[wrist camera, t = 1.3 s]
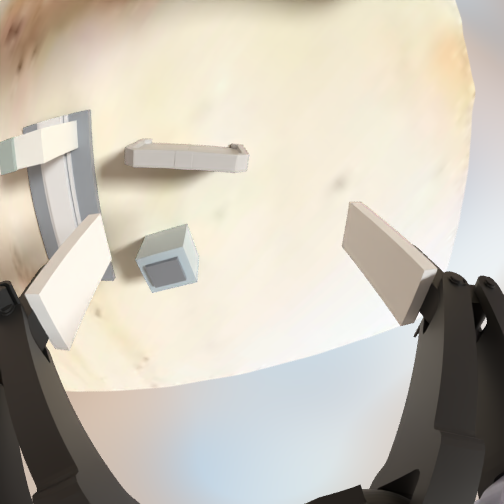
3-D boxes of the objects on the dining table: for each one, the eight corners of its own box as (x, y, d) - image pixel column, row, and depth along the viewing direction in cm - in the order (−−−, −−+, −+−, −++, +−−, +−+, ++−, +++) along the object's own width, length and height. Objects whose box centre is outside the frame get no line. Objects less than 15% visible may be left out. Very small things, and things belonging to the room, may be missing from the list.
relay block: (145, 235, 34) (133, 262, 28) (187, 223, 34) (182, 249, 28) (159, 266, 37) (151, 295, 31) (199, 255, 37) (197, 285, 31)
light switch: (141, 138, 28) (120, 149, 21) (243, 144, 30) (251, 156, 23) (141, 152, 29) (120, 167, 22) (241, 158, 31) (248, 174, 24)
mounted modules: (31, 131, 23) (-9, 145, 16) (76, 120, 24) (38, 129, 17) (62, 275, 34) (39, 311, 27) (102, 275, 35) (83, 314, 28)
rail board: (26, 127, 23) (19, 128, 22) (90, 109, 24) (85, 110, 23) (58, 277, 35) (54, 283, 34) (115, 277, 37) (112, 283, 35)
